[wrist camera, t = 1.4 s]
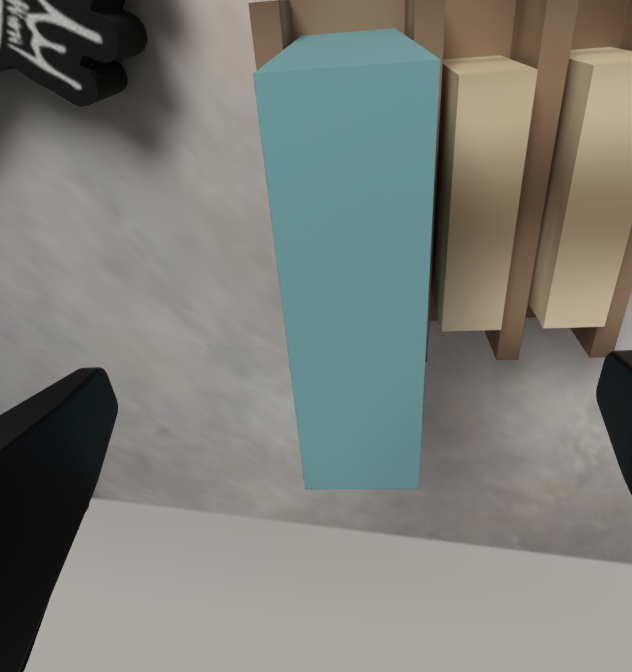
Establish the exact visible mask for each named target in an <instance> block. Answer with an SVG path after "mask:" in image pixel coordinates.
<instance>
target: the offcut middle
mask: <svg viewBox="0 0 632 672" xmlns="http://www.w3.org/2000/svg"><path fill="white" fill-rule="evenodd" d="M537 73H538V69H535V68H532V67H530V66H527V65H525V64H522V63H519V62H517V61H514V60H512V59H509V58H506V57H504V56H501V55H498V56H484V57H471V58H458V59H445V60H443V64H442V83H441V102H440V121H439V140H438V159H437V179H436V198H435V217H434V236H433V255H432V274H431V294H432V298H433V302H434V305H435V309H436V313H437V316H438V320H439V324H440V327H441V331H442V332H448V331H480V330H501V326H502V319H503V312H504V305H505V298H506V291H507V284H508V277H509V270H510V263H511V256H512V249H513V242H514V235H515V228H516V221H517V214H518V206H519V199H520V192H521V185H522V178H523V171H524V164H525V157H526V150H527V143H528V136H529V129H530V122H531V115H532V108H533V101H534V94H535V87H536V80H537Z"/></svg>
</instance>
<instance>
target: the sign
mask: <svg viewBox="0 0 632 672" xmlns="http://www.w3.org/2000/svg"><path fill="white" fill-rule="evenodd" d="M124 2H125V0H0V71H2V70H7V69H12V68H16V69H18V70H19V71H21V72H22V73H23V74H25V75H26V76H27V77H29V78H30V79H32V80H33V81H35V82H37V83H38V84H40V85H42V86H44V87H46V88H48V89H49V90H51V91H53V92H55V93H57V94H58V95H60V96H62V97H63V98H65V99H66V100H68V101H70V102H71V103H73V104H75V105H77V106H87V105H90V104H92V103H95V102H97V101H100V100H102V99H104V98H107V97H109V96H112V95H114V94H117V93H119V92H121V91H122V90H124V88H125V87H126V85H127V75H126V72H125V70H124V68H123V67H122V65H121V64H120V63H119V62H117V61H116V60H119V59H122V58H126V57H130V56H134V55H137V54H140V53H141V52H142V51H143V50H144V48H145V46H146V43H147V34H146V30H145V27H144V25H143V23H142V22H141V20H140V19H139V18H138V17H137V16H135V15H134V14H131V13H129V12H127V11H124V10H123V5H124Z"/></svg>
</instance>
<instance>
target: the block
mask: <svg viewBox="0 0 632 672" xmlns="http://www.w3.org/2000/svg"><path fill="white" fill-rule="evenodd" d="M253 76H254V84H255V92H256V100H257V108H258V116H259V124H260V132H261V140H262V148H263V156H264V164H265V172H266V180H267V188H268V196H269V204H270V212H271V220H272V228H273V236H274V244H275V252H276V260H277V268H278V276H279V284H280V292H281V300H282V308H283V316H284V324H285V332H286V340H287V348H288V356H289V364H290V372H291V380H292V388H293V396H294V404H295V412H296V420H297V428H298V436H299V444H300V452H301V460H302V468H303V476H304V484H305V489H419V475H420V455H421V435H422V415H423V395H424V375H425V355H426V335H427V315H428V295H429V275H430V255H431V235H432V215H433V195H434V175H435V156H436V136H437V116H438V96H439V76H440V59H439V58H438V57H436V56H435V55H433V54H432V53H430V52H429V51H427V50H426V49H425V48H423V47H422V46H420V45H419V44H417V43H416V42H414V41H413V40H411V39H410V38H409V37H407V36H406V35H404V34H403V33H401V32H400V31H398V30H397V29H396V28H391V29H379V30H366V31H354V32H342V33H330V34H317V35H305V36H301V37H299V38H298V39H297V40H296V41H294V42H293V43H292V44H290V45H289V46H288V47H287V48H285V49H284V50H283V51H282V52H280V53H279V54H278V55H276V56H275V57H274V58H273V59H271V60H270V61H269V62H267V63H266V64H265V65H264V66H262V67H261V68H260V69H258V70H257V71H256V72H255V73H253Z"/></svg>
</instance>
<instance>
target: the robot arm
mask: <svg viewBox="0 0 632 672" xmlns="http://www.w3.org/2000/svg"><path fill="white" fill-rule="evenodd" d="M596 398H597V402H598V406H599V409H600V411H601V414H602V417H603V420H604V423H605V426H606V429H607V432H608V435H609V438H610V441H611V444H612V446H613V449H614V452H615V455H616V458H617V461H618V464H619V467H620V469H621V472H622V475H623V477H624V480H625V482H626V484H627V486H628V488H629V491H630V493H631V495H632V350H625V351H611V352H609V353H608V354H607V355H606V357H605V360H604V363H603V367H602V371H601V374H600V378H599V382H598V385H597V390H596ZM117 413H118V403H117V399H116V396H115V394H114V391H113V388H112V386H111V383H110V380H109V378H108V375H107V373H106V371H105V370H104V369H102V368H100V367H94V368H80V369H78V370H76V371H74V372H73V373H71V374H69V375H68V376H66V377H64V378H63V379H61V380H59V381H57V382H56V383H54V384H52V385H51V386H49V387H47V388H46V389H44V390H42V391H40V392H39V393H37V394H35V395H34V396H32V397H30V398H28V399H27V400H25V401H23V402H22V403H20V404H18V405H17V406H15V407H13V408H11V409H10V410H8V411H6V412H5V413H3V414H1V415H0V672H23V671H24V669H25V667H26V664H27V662H28V659H29V656H30V654H31V651H32V648H33V645H34V642H35V639H36V636H37V634H38V631H39V628H40V625H41V622H42V619H43V616H44V613H45V611H46V608H47V605H48V602H49V599H50V596H51V594H52V591H53V589H54V586H55V584H56V582H57V579H58V577H59V575H60V572H61V570H62V567H63V565H64V562H65V560H66V557H67V555H68V552H69V550H70V548H71V546H72V543H73V541H74V538H75V536H76V534H77V531H78V529H79V526H80V524H81V521H82V519H83V517H84V514H85V512H86V511H87V509H88V507H89V502H90V500H91V497H92V495H93V492H94V490H95V487H96V484H97V482H98V478H99V475H100V472H101V469H102V465H103V462H104V458H105V455H106V452H107V448H108V445H109V441H110V438H111V434H112V431H113V427H114V424H115V420H116V417H117Z"/></svg>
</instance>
